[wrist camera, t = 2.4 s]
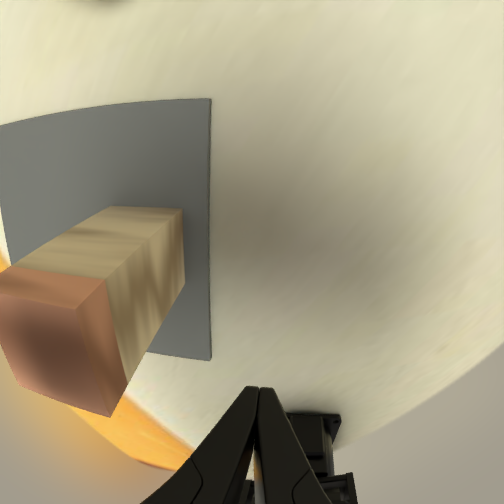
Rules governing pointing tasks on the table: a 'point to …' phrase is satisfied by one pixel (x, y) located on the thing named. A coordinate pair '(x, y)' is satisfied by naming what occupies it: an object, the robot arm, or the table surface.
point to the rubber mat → (116, 189)
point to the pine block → (92, 304)
